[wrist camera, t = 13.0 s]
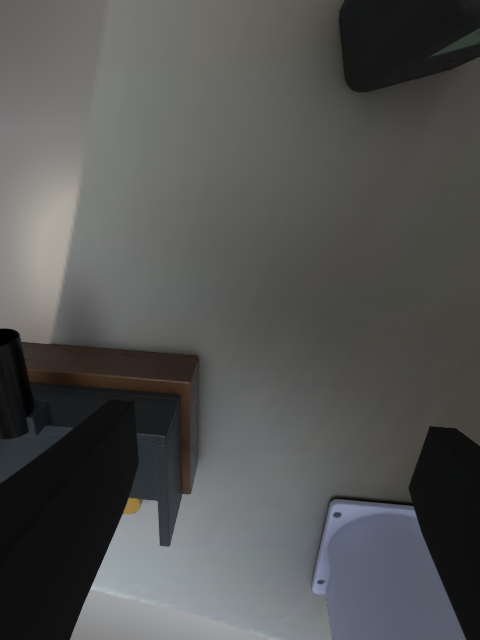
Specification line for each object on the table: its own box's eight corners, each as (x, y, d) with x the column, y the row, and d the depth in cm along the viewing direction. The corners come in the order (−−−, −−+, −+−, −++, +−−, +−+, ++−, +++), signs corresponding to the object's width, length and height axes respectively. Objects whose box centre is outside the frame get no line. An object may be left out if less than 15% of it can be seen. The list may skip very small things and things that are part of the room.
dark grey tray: (181, 497, 21) (163, 573, 17) (-26, 477, 21) (-90, 548, 17) (179, 313, 16) (153, 362, 12) (-87, 293, 16) (-193, 334, 13)
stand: (198, 461, 23) (190, 495, 21) (-6, 443, 23) (-35, 474, 21) (199, 355, 20) (190, 382, 17) (-37, 336, 20) (-75, 360, 18)
